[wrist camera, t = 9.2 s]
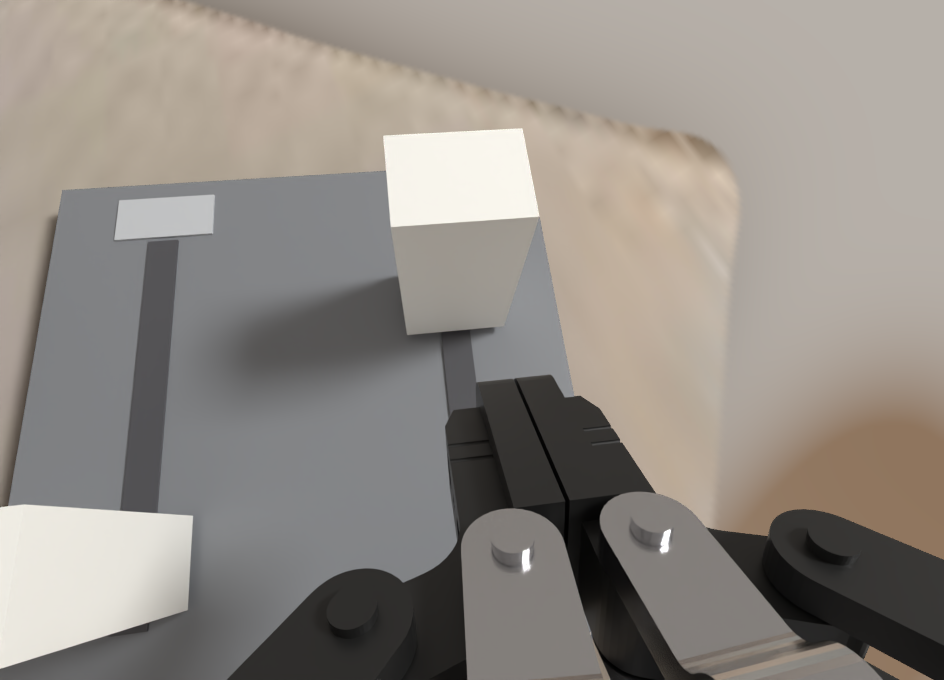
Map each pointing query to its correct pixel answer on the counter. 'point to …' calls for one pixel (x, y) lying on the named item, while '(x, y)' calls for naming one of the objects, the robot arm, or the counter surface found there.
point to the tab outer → (459, 225)
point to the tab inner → (86, 575)
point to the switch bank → (252, 399)
